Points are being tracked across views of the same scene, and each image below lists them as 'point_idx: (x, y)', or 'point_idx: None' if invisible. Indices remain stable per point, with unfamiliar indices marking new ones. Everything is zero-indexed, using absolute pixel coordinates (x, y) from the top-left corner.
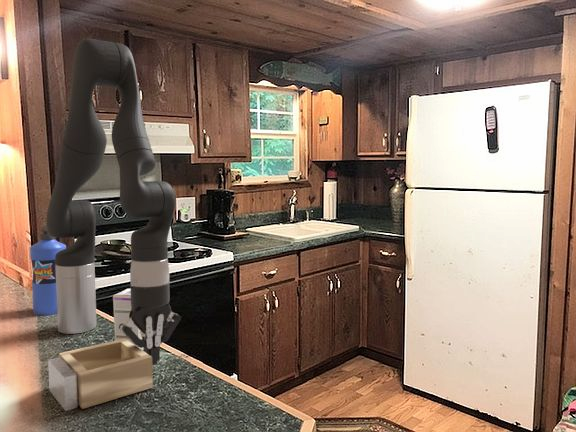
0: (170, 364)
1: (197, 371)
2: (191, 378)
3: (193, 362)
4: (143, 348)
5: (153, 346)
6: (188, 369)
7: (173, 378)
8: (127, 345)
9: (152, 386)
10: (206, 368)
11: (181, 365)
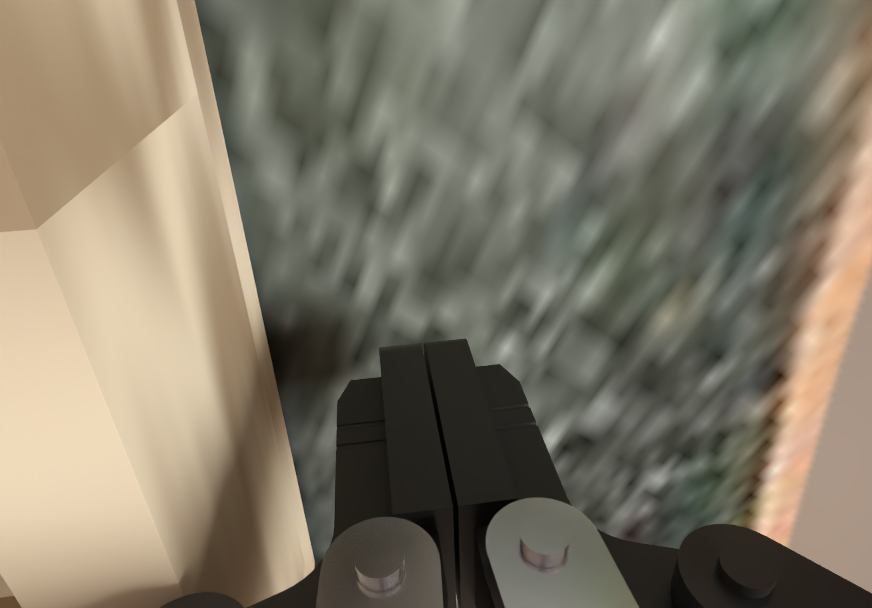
0: (659, 226)
1: (716, 461)
2: (610, 530)
3: (829, 300)
4: (334, 528)
5: (477, 594)
6: (696, 403)
7: None
8: (7, 531)
9: (312, 568)
10: (797, 447)
11: (714, 304)
